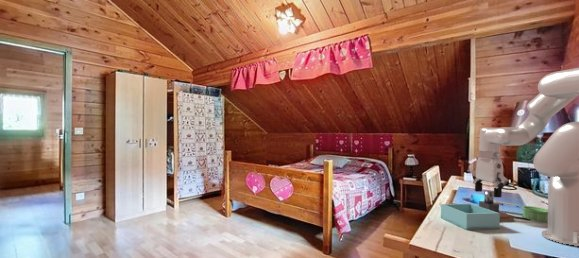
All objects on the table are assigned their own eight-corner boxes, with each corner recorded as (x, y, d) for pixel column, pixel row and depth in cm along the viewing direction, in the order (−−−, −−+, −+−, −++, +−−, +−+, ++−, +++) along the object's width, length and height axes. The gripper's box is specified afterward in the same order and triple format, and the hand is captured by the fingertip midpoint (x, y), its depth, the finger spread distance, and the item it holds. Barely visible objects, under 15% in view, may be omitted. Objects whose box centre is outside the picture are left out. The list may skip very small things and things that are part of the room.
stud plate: (513, 220, 114) (513, 209, 114) (488, 221, 112) (488, 210, 112) (489, 212, 126) (489, 202, 126) (465, 212, 124) (465, 202, 124)
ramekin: (517, 217, 120) (517, 207, 120) (528, 214, 123) (528, 205, 123) (543, 223, 112) (543, 212, 112) (554, 221, 115) (554, 210, 115)
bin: (499, 228, 104) (499, 213, 104) (466, 230, 102) (466, 214, 102) (470, 217, 118) (470, 203, 118) (440, 218, 116) (440, 204, 116)
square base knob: (498, 213, 117) (499, 192, 117) (488, 214, 116) (488, 192, 116) (488, 210, 122) (489, 189, 122) (478, 210, 121) (479, 190, 121)
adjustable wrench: (549, 212, 129) (549, 209, 129) (547, 215, 125) (548, 211, 125) (486, 201, 148) (486, 198, 148) (482, 203, 143) (482, 200, 143)
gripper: (515, 158, 111) (513, 199, 111) (480, 153, 128) (478, 189, 129) (499, 157, 110) (497, 199, 110) (466, 153, 127) (464, 189, 128)
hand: (487, 194), depth 119 cm, fingers open, 9 cm apart
